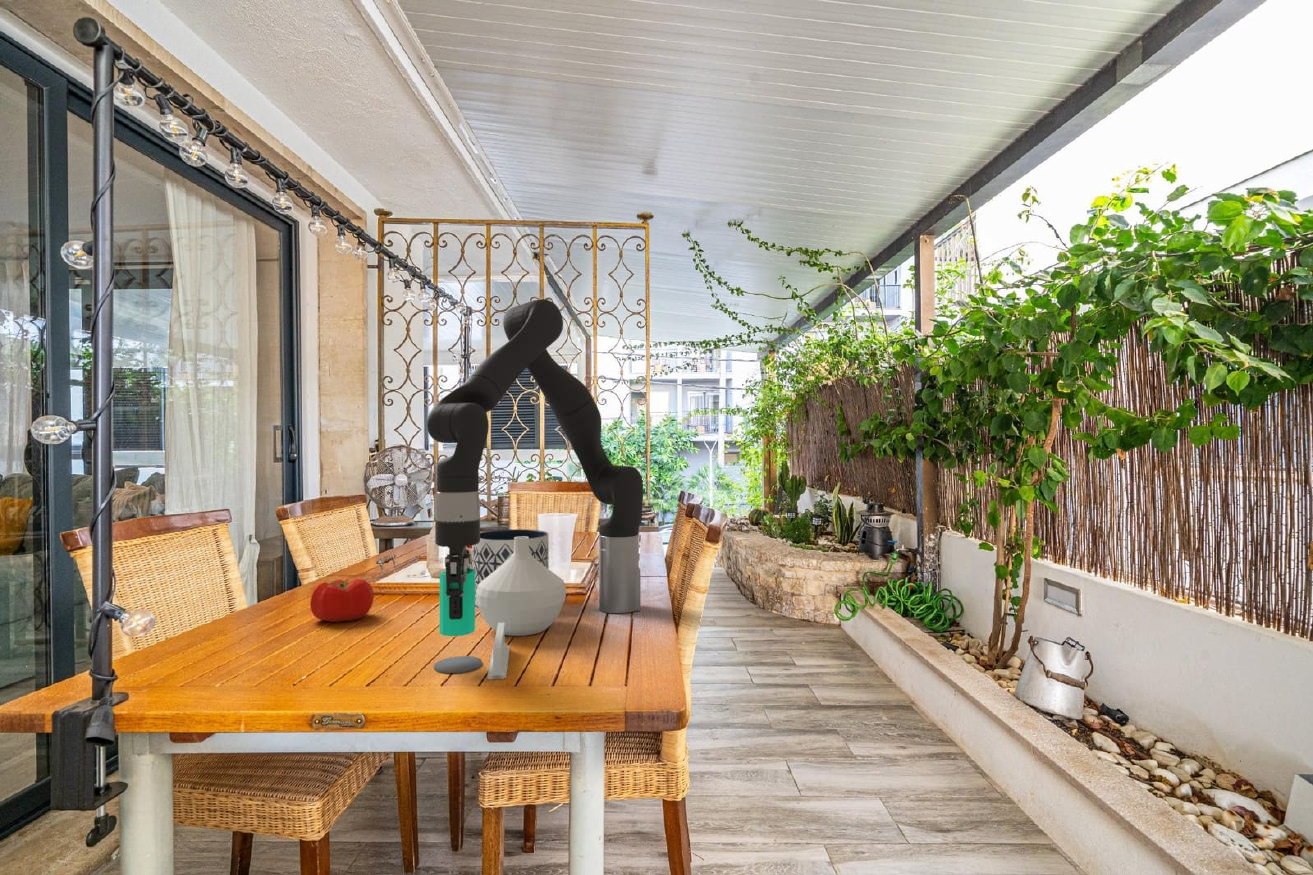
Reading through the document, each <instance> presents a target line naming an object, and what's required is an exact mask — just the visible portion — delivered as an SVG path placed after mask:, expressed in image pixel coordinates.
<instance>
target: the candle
mask: <svg viewBox="0 0 1313 875" xmlns="http://www.w3.org/2000/svg"><path fill="white" fill-rule="evenodd" d="M463 576H464V575H462V577H463ZM451 588H459V584H458V583H452V584H451ZM463 592H464V595H463V617H462V618H461V619H450V618H449V597H448V596H447V594H446V569H445V570H443V571H441V572H439V634H440V635H442V636H446V637H460V636H461V637H462V636H467V635H470V634H473V633H474V632H475V631H476V605H475V570H474V569H472V567H471V568H469V570H468V571H467V580H466V582H465V583H464V584H463Z"/></svg>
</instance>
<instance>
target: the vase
mask: <svg viewBox="0 0 1313 875" xmlns="http://www.w3.org/2000/svg"><path fill="white" fill-rule="evenodd" d="M566 598H567V586H566V584H565V581H564V579H563V578H561V577H560V576H558V575H557V574H556V573H555V572H553V571H552V570H551V569H548V568H546V567H545V566H544V565H543V564H541V563H540V562H539V561H537V560H536V559H535V558H534V557H533V556H532V555H531V554H530V552H529V537H526V536H520V537H514V553H513V554H512V555H511V557H510V558H509V559H508V560H507V561H506V562H505V563H503V564H502V565H501V566H500V567H499V568H498V569H496V570H495V571H494V572H493V573H491V574H490V575H489V576H488V577H486V578H485V579H484V580H483V581H481V582H480V583H479V585H478V587H477V590H476V602H477V605H478V606H477V608H478V610H479V613H480V615H481V618H482V620H483V621H485V623H486V624H487V625H488V626H489V627H490V628H491V629H493V630H494V631H495V632H496V631H497V626H498V623H505V636H511V637H521V636H522V637H525V636H531V635H535V634H539V633H541V632H544V631H545V630H547V629H548V628H549V627H550V626H551V625H553V624H554V622H555V621H556V619H558V617H559V616H560V614H561V612H562V609H563V606H564V603H565V600H566Z"/></svg>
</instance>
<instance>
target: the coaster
mask: <svg viewBox="0 0 1313 875" xmlns="http://www.w3.org/2000/svg"><path fill="white" fill-rule="evenodd" d="M482 663H483V660H482V659H481V658H480V657H477V656H471V655H470V656H469V655H458V656H451V657H450V656H449V657H446V658H443V659H440V660H438V661H436V662H435V663H434V664H433V670H434V671H435V670H436V671H435V672H437V671H438V673H440V672H442V673H441V674H447V673H453V674H464V673H468V672H471V671H475V670H477V669H479V668H480V667H481V666H483V664H482ZM453 674H452V675H453Z"/></svg>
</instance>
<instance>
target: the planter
mask: <svg viewBox="0 0 1313 875" xmlns="http://www.w3.org/2000/svg"><path fill="white" fill-rule="evenodd" d="M520 536H526V537H529V552H530V554H531V555H532V556H533V557H534V558H535V559H536V560H537V561H539V562H540V563H541V564H543V565H544V566H545V567H546V568H548V569H549V568H550V567H549V565H550V564H549V558H550V556H549V554H550V553H549V552H550V551H549V533H548V532H547V531H543V530H538V529H537V530H535V529H497V530H489V531H486V530H485V531H480V542H479V543H478V544H476V545H473V546H471V568H472V569H474V570H475V607H478V605H477V602H476V590H477V587H478V585H479V583H480V582H481V581H483V580H484V579H485V578H486V577H488V576H489V575H490V574H491V573H493V572H494V571H495V570H496V569H498V568H499V567H500V566H501V565H502V564H503V563H505V562H506V561H507V560H508V559H509V558H510V557H511V555H512V554H513V553H514V537H520ZM549 570H550V569H549Z"/></svg>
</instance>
